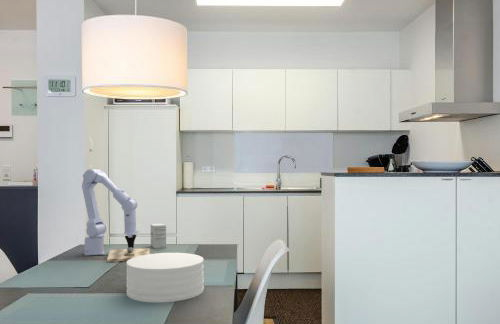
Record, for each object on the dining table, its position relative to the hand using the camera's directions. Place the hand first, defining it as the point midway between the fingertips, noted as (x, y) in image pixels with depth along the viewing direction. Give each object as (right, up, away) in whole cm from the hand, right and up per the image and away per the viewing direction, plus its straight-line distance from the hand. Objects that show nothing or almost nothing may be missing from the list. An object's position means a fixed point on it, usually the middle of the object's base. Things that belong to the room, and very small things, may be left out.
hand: (131, 249), depth 232 cm
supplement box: (+9, -3, +23) cm, 25 cm away
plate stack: (+30, -3, -65) cm, 72 cm away
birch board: (0, -3, -3) cm, 4 cm away
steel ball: (0, 0, -1) cm, 1 cm away
